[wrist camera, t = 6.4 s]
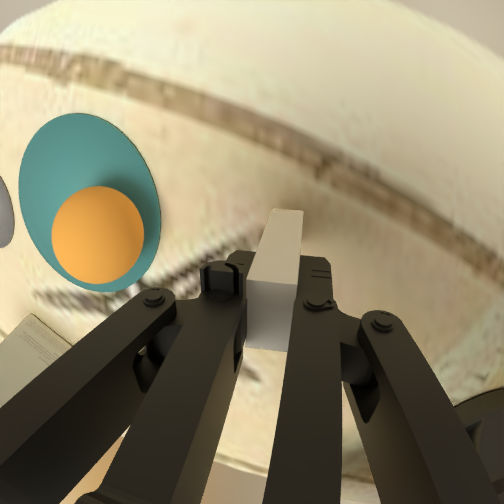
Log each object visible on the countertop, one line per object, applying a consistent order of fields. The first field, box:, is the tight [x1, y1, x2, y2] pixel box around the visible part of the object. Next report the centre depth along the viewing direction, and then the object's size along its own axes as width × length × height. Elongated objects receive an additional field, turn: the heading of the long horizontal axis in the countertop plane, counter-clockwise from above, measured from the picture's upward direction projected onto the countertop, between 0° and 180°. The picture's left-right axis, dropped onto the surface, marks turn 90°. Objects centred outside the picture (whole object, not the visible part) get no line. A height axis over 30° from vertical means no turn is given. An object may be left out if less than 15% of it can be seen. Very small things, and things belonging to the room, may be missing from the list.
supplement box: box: [0, 314, 72, 408], centre depth 22 cm, size 7×7×13 cm
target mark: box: [19, 113, 161, 292], centre depth 19 cm, size 13×13×1 cm
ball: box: [52, 186, 144, 284], centre depth 16 cm, size 6×6×6 cm
